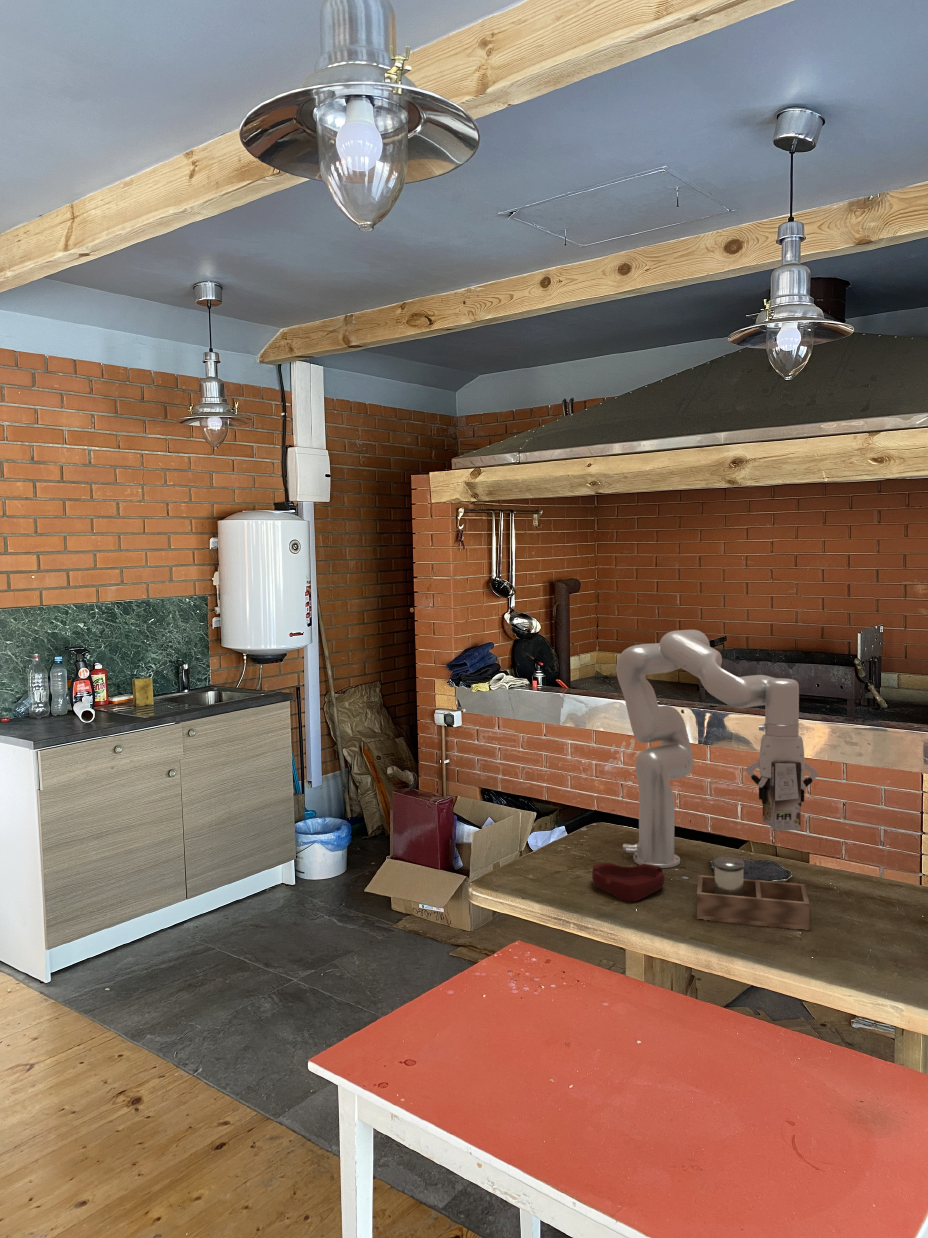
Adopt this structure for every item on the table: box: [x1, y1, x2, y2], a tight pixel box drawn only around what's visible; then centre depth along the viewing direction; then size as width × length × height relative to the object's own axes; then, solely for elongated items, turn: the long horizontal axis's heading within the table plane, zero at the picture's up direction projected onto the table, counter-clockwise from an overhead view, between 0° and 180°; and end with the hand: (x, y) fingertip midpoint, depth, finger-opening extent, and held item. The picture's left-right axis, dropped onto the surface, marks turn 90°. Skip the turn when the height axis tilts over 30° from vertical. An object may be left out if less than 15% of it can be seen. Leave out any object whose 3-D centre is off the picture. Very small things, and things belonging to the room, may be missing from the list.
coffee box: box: [762, 761, 802, 832], centre depth 211 cm, size 9×6×16 cm
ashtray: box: [591, 862, 665, 903], centre depth 219 cm, size 18×16×5 cm
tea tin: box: [713, 856, 745, 896], centre depth 205 cm, size 7×7×11 cm
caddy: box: [696, 874, 810, 931], centre depth 204 cm, size 24×13×6 cm, turn 73°
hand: (781, 803), depth 211 cm, fingers closed on coffee box, 7 cm apart
